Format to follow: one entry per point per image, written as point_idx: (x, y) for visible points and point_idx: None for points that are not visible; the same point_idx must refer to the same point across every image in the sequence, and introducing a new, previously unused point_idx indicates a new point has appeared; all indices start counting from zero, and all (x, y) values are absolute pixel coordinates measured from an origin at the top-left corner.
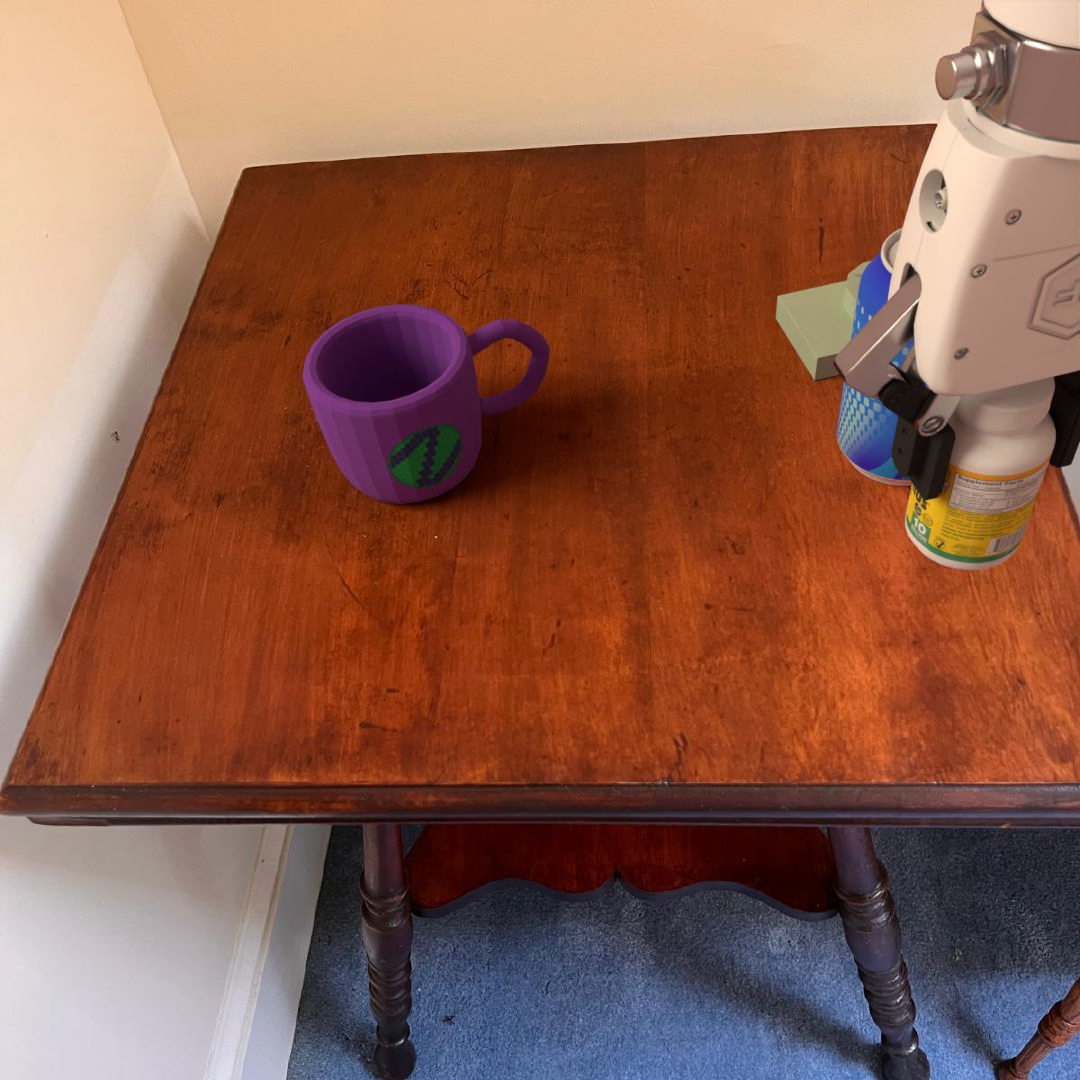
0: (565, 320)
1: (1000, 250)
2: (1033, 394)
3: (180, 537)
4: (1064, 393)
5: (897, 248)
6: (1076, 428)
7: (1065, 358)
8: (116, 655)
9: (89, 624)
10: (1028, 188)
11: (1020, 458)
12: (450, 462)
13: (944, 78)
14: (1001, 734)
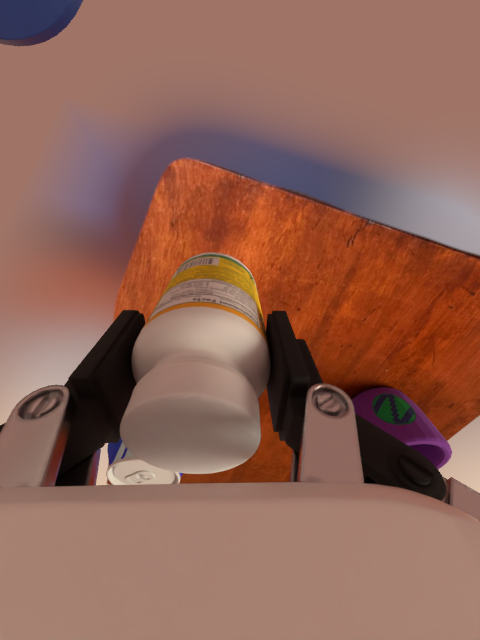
0: (283, 443)
1: None
2: (163, 413)
3: (475, 394)
4: (108, 395)
5: (166, 483)
6: (107, 345)
7: (98, 600)
8: None
9: None
10: None
11: (197, 323)
12: (379, 402)
13: None
14: (195, 195)
